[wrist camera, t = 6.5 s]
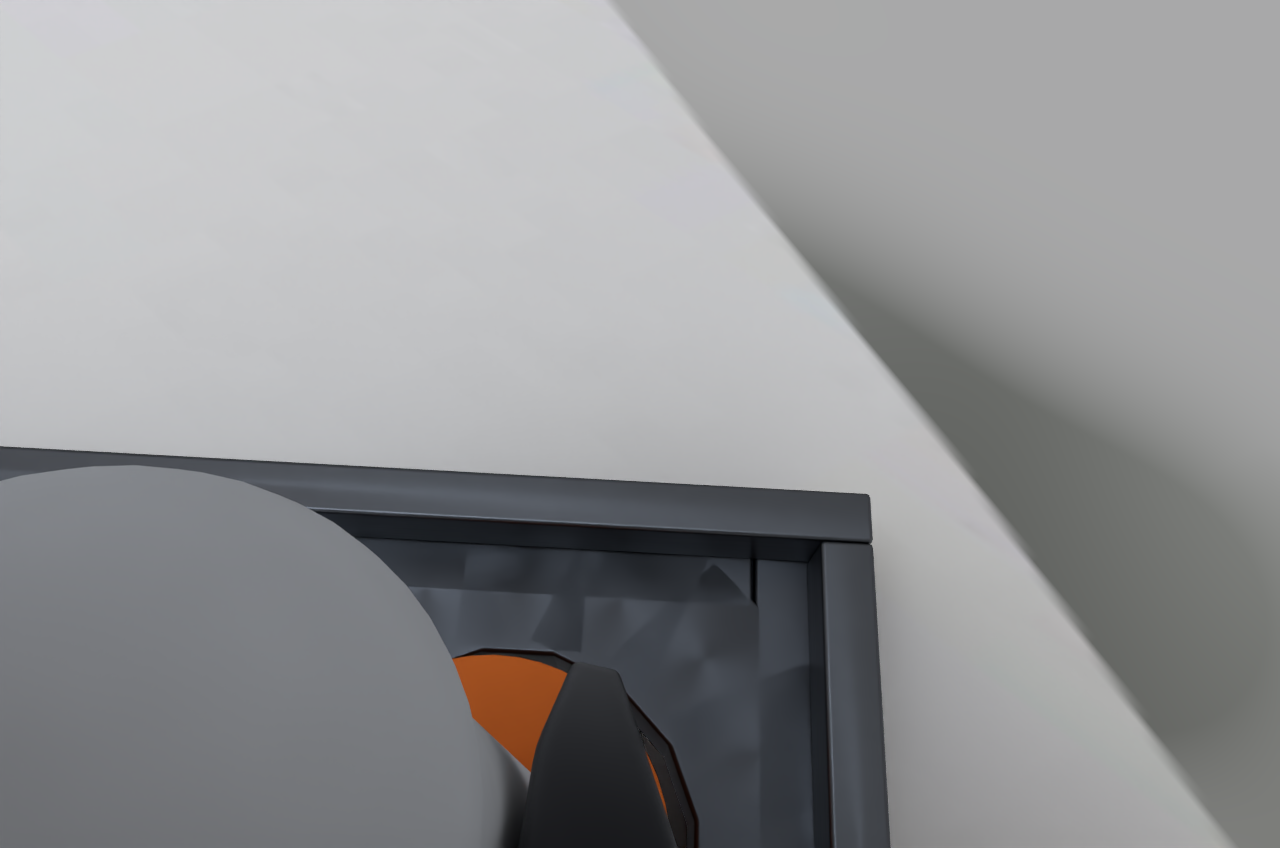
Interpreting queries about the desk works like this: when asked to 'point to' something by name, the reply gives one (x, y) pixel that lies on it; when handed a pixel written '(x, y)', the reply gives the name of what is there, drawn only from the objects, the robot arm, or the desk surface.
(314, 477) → the sink rim
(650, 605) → the sink
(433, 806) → the plug
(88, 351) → the desk surface
